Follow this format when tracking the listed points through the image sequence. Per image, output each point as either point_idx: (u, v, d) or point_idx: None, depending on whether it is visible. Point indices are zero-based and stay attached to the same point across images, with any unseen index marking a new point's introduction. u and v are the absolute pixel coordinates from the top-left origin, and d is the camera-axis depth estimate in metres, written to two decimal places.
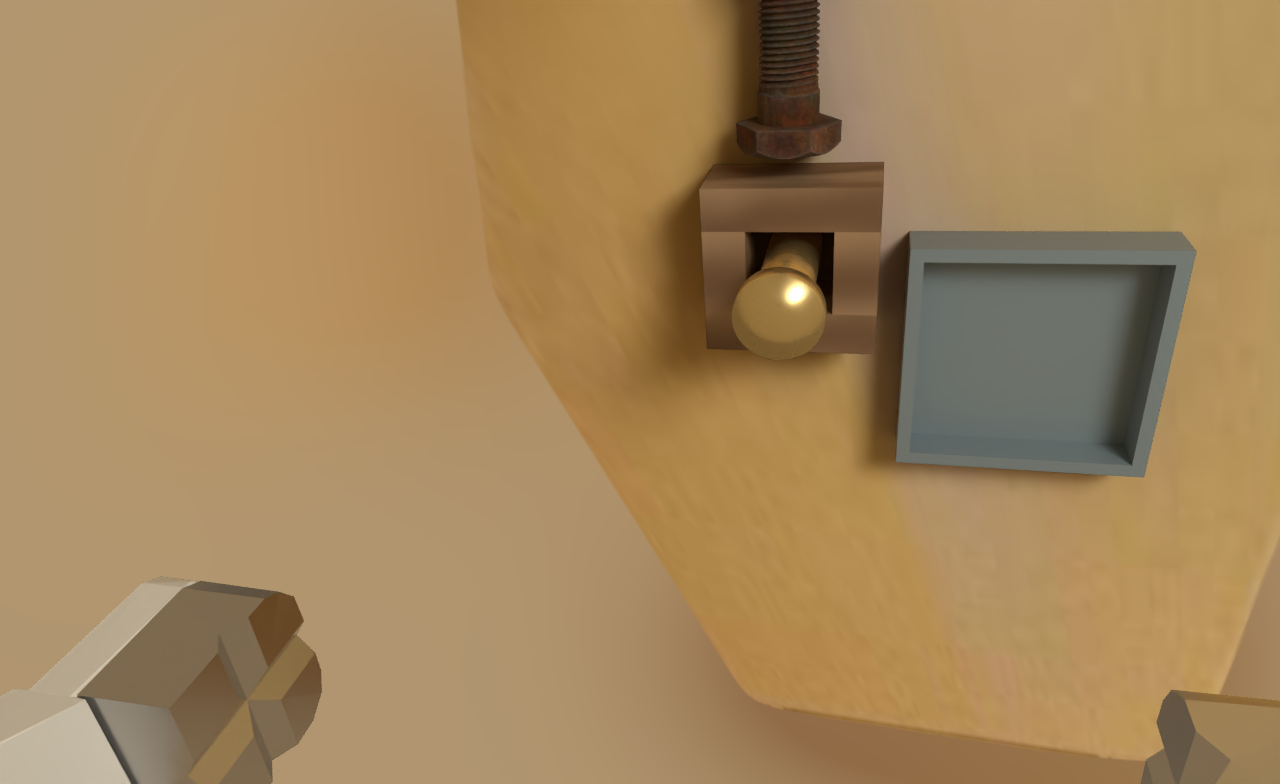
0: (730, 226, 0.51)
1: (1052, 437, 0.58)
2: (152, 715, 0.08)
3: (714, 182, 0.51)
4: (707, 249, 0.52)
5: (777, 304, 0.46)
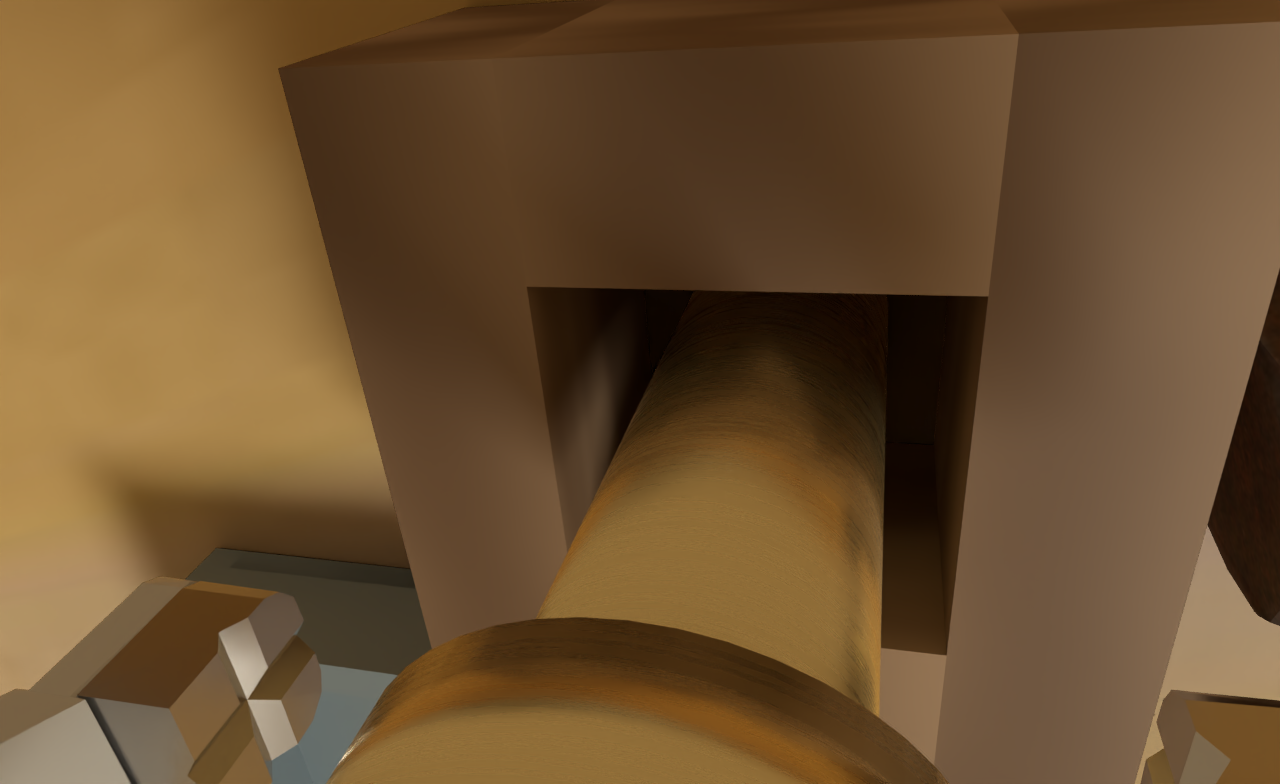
0: (1033, 220, 0.09)
1: None
2: (151, 716, 0.08)
3: None
4: (892, 78, 0.08)
5: None
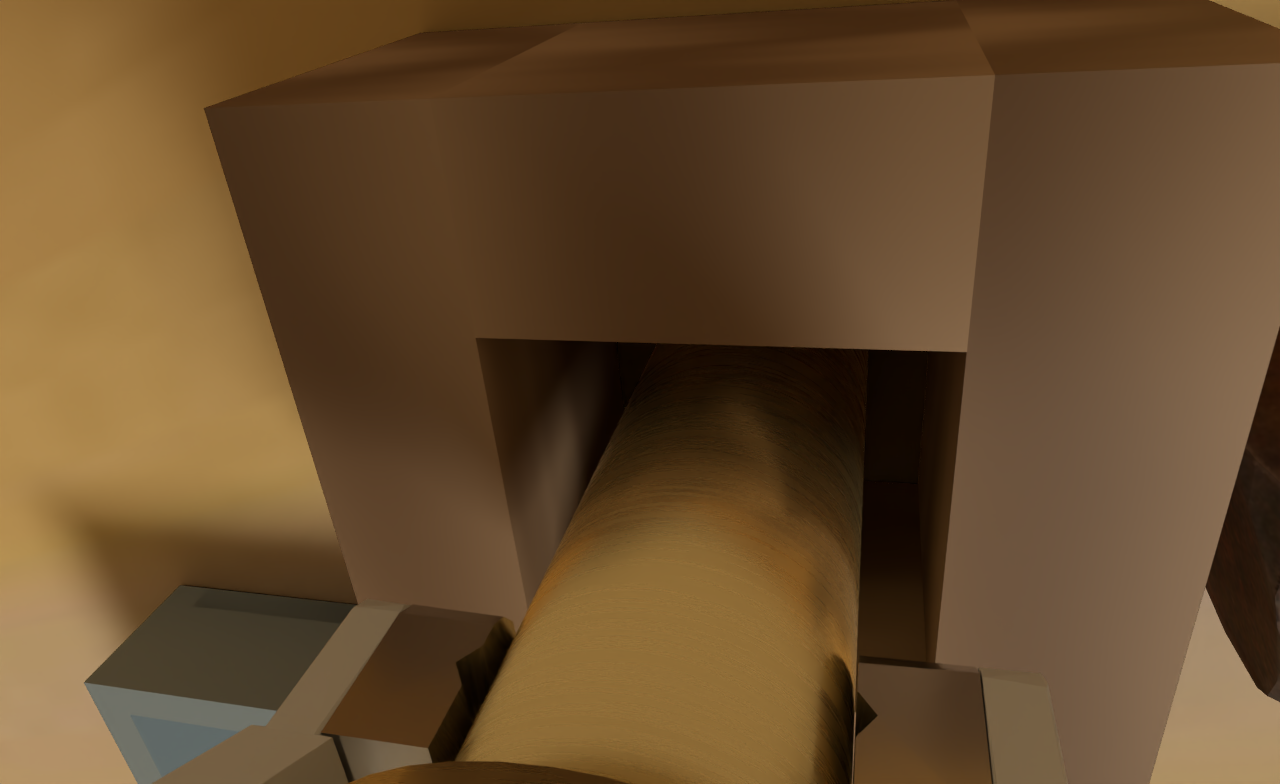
0: (1014, 273, 0.08)
1: None
2: (405, 756, 0.07)
3: None
4: (859, 121, 0.08)
5: None
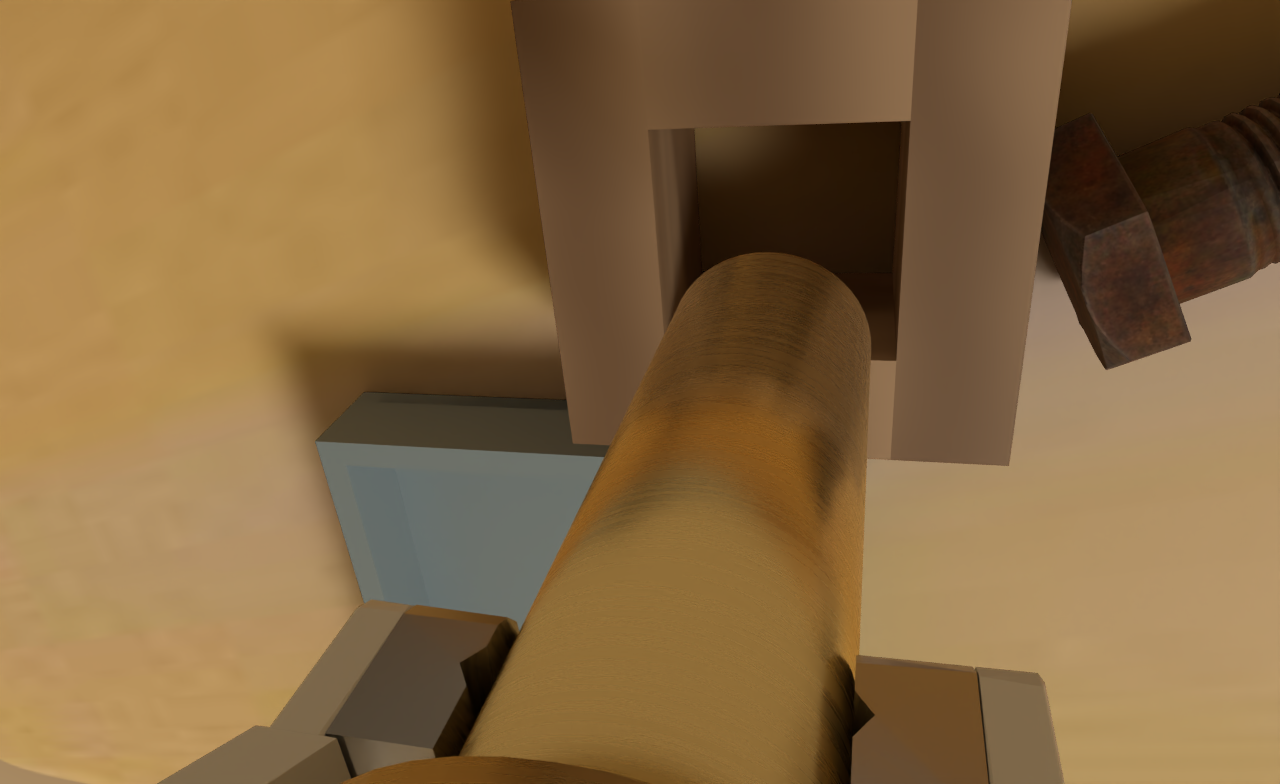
0: (932, 75, 0.16)
1: None
2: (410, 756, 0.07)
3: None
4: None
5: None
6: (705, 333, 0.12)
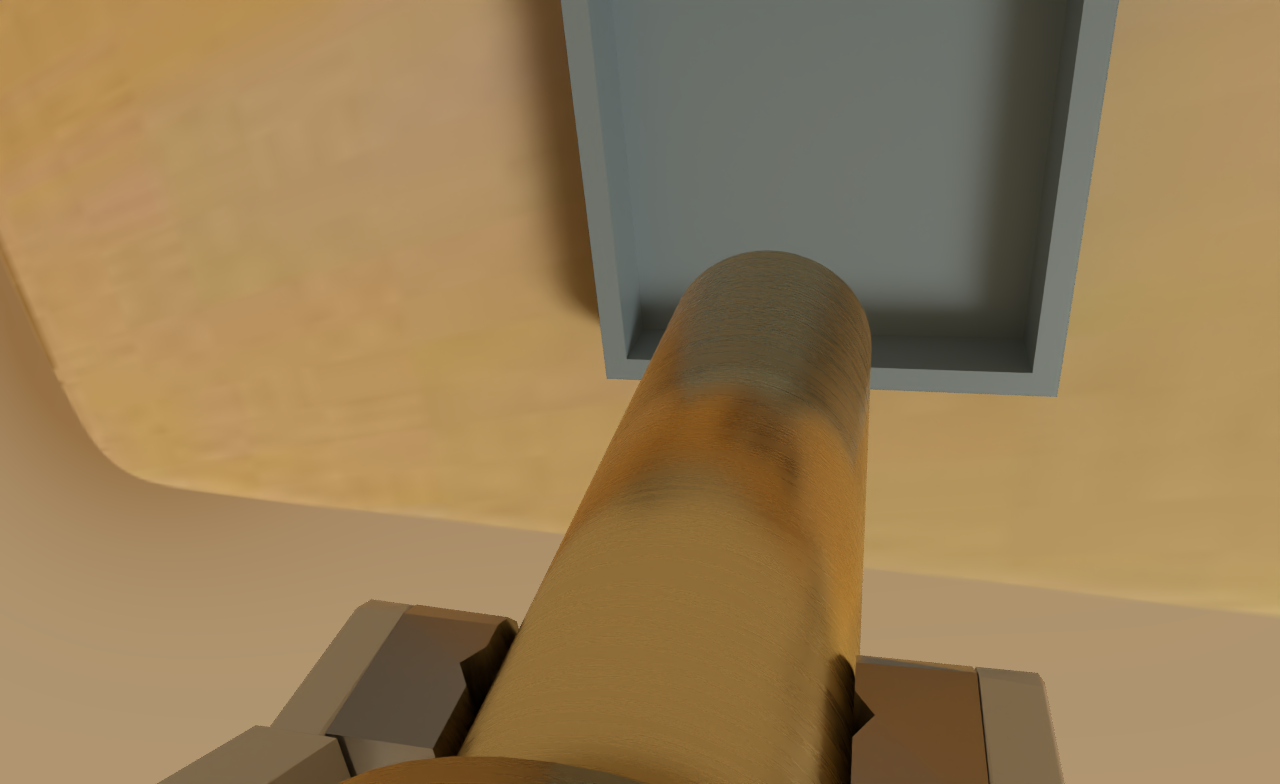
0: None
1: (639, 219, 0.31)
2: (410, 756, 0.07)
3: None
4: None
5: None
6: (705, 331, 0.12)
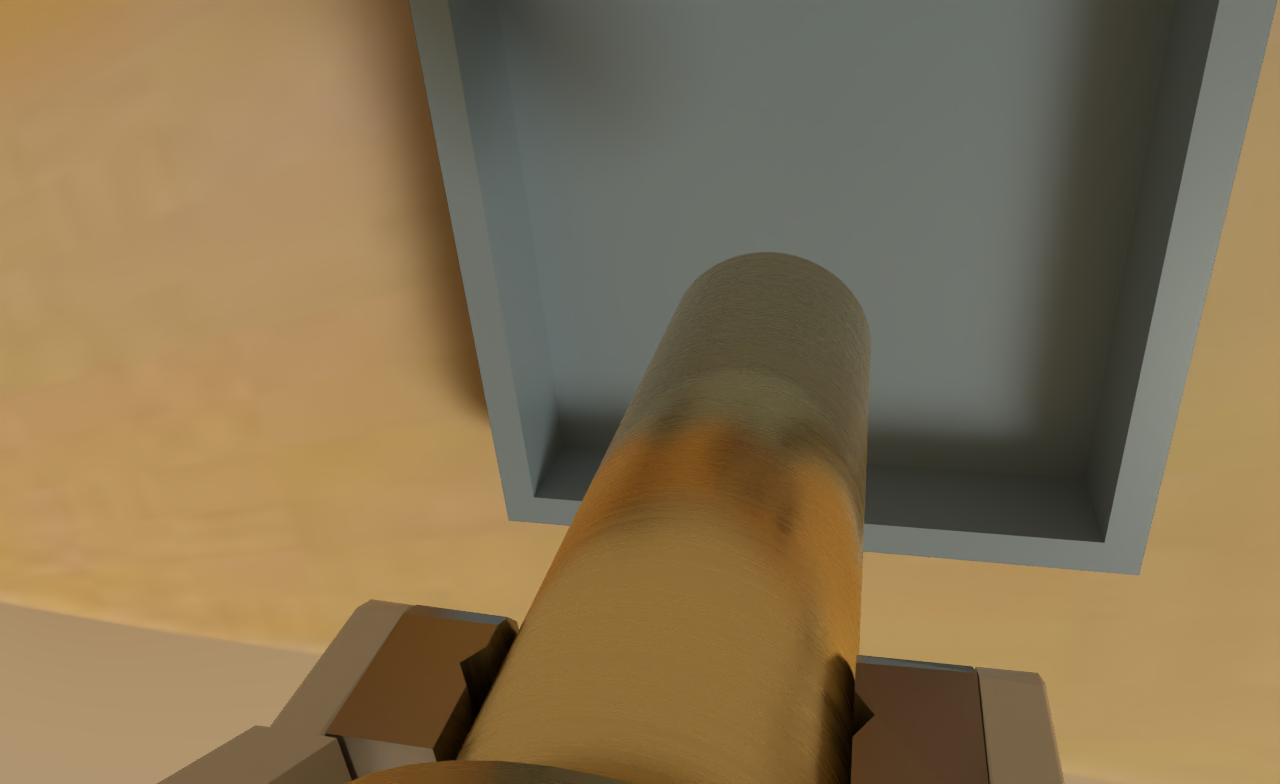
0: None
1: (551, 304, 0.22)
2: (410, 756, 0.07)
3: None
4: None
5: None
6: (704, 333, 0.12)
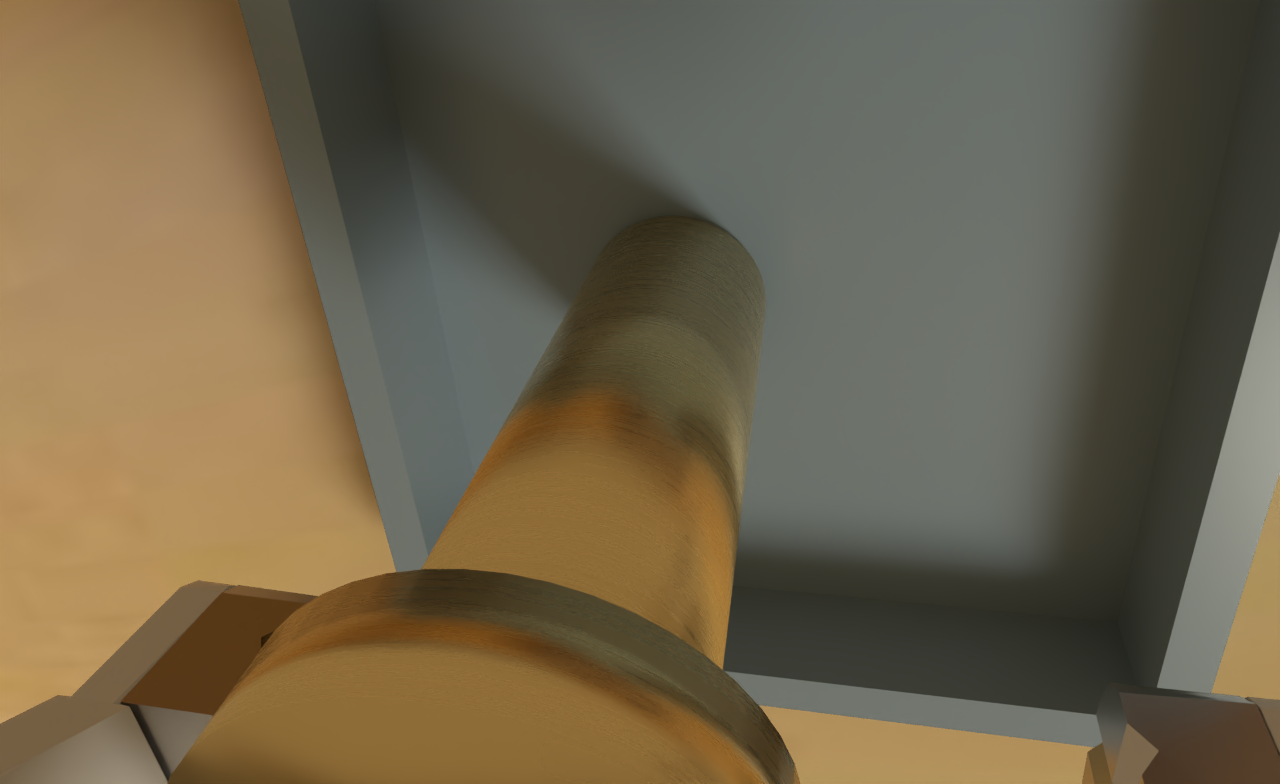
0: None
1: (470, 405, 0.18)
2: (196, 723, 0.08)
3: None
4: None
5: None
6: (611, 283, 0.13)
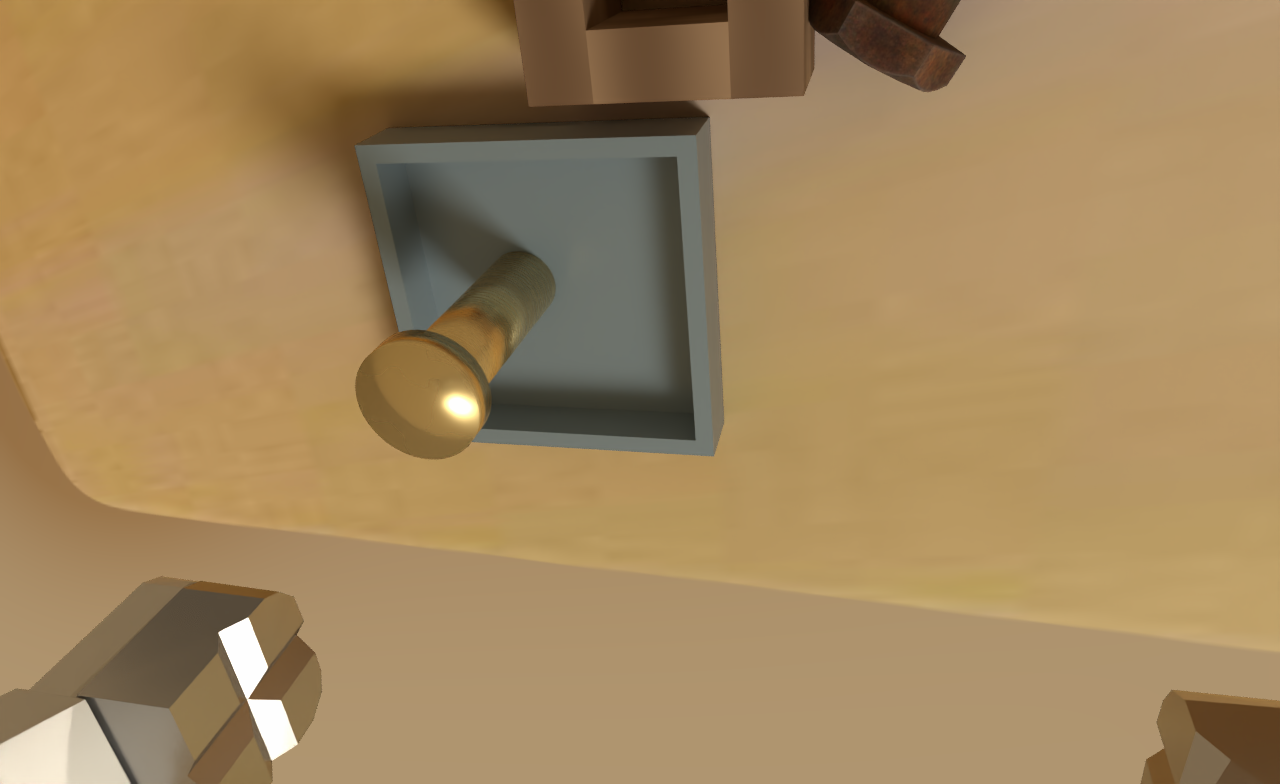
0: None
1: None
2: (152, 716, 0.08)
3: None
4: None
5: (437, 404, 0.32)
6: (485, 275, 0.39)
